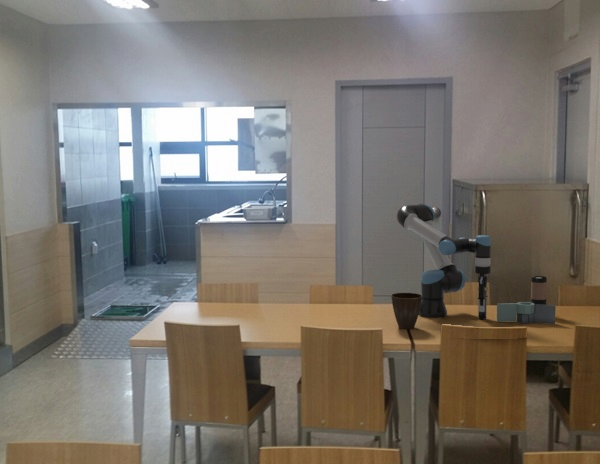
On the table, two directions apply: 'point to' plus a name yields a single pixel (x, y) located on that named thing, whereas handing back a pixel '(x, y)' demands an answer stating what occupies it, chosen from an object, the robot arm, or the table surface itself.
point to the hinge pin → (482, 314)
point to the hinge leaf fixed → (539, 315)
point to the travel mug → (538, 290)
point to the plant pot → (406, 309)
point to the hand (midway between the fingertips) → (482, 310)
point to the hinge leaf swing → (513, 310)
